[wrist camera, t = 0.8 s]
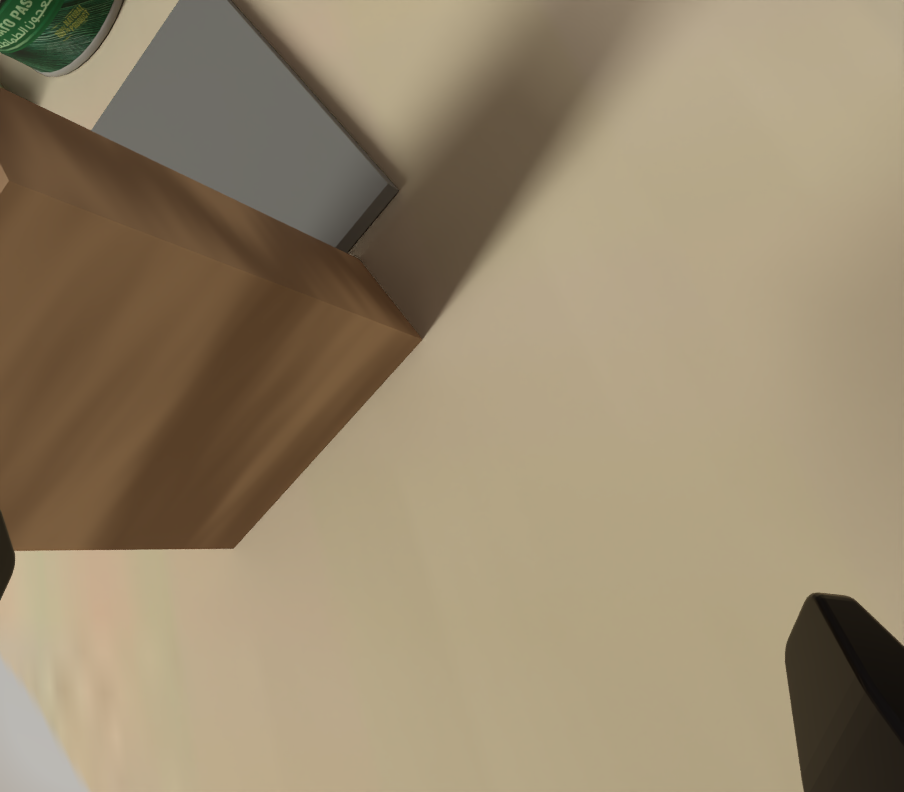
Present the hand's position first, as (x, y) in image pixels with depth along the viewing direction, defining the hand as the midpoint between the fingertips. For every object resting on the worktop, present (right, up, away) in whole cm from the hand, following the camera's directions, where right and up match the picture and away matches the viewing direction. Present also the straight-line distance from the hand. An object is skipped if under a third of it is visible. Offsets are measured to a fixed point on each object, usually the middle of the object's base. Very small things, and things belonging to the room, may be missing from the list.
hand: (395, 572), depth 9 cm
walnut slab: (-5, +2, +18) cm, 19 cm away
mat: (-10, +9, +23) cm, 26 cm away
